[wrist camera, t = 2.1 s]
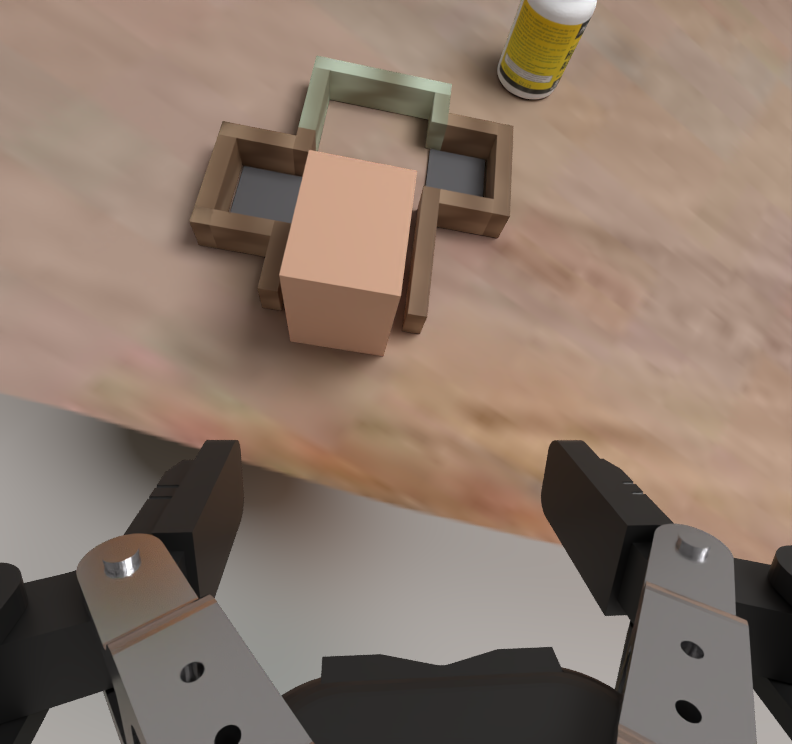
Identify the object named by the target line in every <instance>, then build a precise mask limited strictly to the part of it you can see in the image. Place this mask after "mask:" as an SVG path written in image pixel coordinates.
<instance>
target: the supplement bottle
mask: <svg viewBox="0 0 792 744" xmlns="http://www.w3.org/2000/svg"><path fill="white" fill-rule="evenodd" d="M596 3H597V0H521V2H520V5H519V8H518V10H517V13H516V16H515V19H514V22H513V24H512V27H511V30H510V33H509V35H508V38H507V41H506V44H505V46H504V49H503V52H502V54H501V57H500V61H499V64H498V68H497V73H498V77H499V79H500V81H501V83H502V84H503V86H504V87H505V88H506V89H507V90H508V91H510V92H511V93H513V94H515V95H517V96H519V97H522V98H526V99H541V98H545V97H547V96H548V95H550V94H551V93H552V92H553V91H554V89H555V88H556V86H557V84H558V82H559V81H560V79H561V76H562V74H563V72H564V70H565V68H566V66H567V64H568V62H569V60H570V58H571V56H572V54H573V52H574V50H575V48H576V46H577V44H578V42H579V40H580V38H581V36H582V34H583V32H584V30H585V28H586V26H587V24H588V22H589V20H590V18H591V16H592V14H593V12H594V10H595V7H596Z"/></svg>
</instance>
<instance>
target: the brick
mask: <svg viewBox="0 0 792 744" xmlns="http://www.w3.org/2000/svg"><path fill="white" fill-rule="evenodd" d="M416 176H417V171H415V170H410V169H405V168H400V167H395V166H390V165H385V164H379V163H374V162H369V161H364V160H359V159H354V158H349V157H343V156H338V155H333V154H328V153H323V152H318V151H313V150H309V152H308V157H307V161H306V165H305V169H304V173H303V177H302V182H301V186H300V190H299V194H298V198H297V203H296V207H295V211H294V215H293V219H292V224H291V228H290V232H289V236H288V240H287V244H286V249H285V253H284V257H283V261H282V265H281V270H280V274H279V277H280V283H281V289H282V295H283V301H284V306H285V312H286V318H287V324H288V330H289V336H290V341H292V342H298V343H304V344H310V345H316V346H323V347H329V348H335V349H341V350H347V351H354V352H360V353H366V354H372V355H378V356H384V352H385V349H386V345H387V342H388V339H389V335H390V332H391V328H392V325H393V321H394V318H395V314H396V311H397V308H398V304H399V301H400V297H401V291H402V283H403V275H404V268H405V260H406V252H407V245H408V237H409V229H410V222H411V214H412V206H413V199H414V191H415V184H416Z"/></svg>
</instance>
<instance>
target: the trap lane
mask: <svg viewBox="0 0 792 744" xmlns="http://www.w3.org/2000/svg"><path fill="white" fill-rule="evenodd" d="M451 87H452V84H449V83H444V82H439V81H434V80H430V79H425V78H420V77H416V76H411V75H406V74H401V73H397V72H392V71H387V70H382V69H378V68H373V67H368V66H363V65H359V64H354V63H349V62H345V61H340V60H335V59H330V58H326V57H321V56H316V60H315V64H314V68H313V72H312V75H311V79H310V83H309V87H308V91H307V95H306V99H305V103H304V107H303V111H302V115H301V119H300V123H299V126H298V130H297V134H296V135H291V134H286V133H281V132H276V131H271V130H265V129H260V128H255V127H250V126H245V125H240V124H235V123H230V122H225V121H223V122H222V125H221V128H220V131H219V134H218V137H217V140H216V143H215V146H214V149H213V152H212V155H211V158H210V161H209V164H208V167H207V170H206V173H205V176H204V179H203V182H202V185H201V188H200V191H199V194H198V197H197V200H196V203H195V206H194V209H193V212H192V215H191V218H190V221H189V222H190V224H191V226H192V229H193V231H194V234H195V236H196V238H197V241H198V243H199V245H202V246H207V247H213V248H219V249H225V250H230V251H236V252H242V253H247V254H253V255H259V256H265V260H264V264H263V268H262V272H261V275H260V279H259V283H258V287H257V289H258V293H259V297H260V300H261V304H262V308H268V309H274V310H280V311H281V309H282V304H283V295H282V289H281V283H280V277H279V274H280V270H281V265H282V261H283V257H284V253H285V249H286V244H287V240H288V236H289V232H290V228H291V224H292V223H287V222H281V221H276V220H270V219H265V218H259V217H254V216H248V215H243V214H237V213H232V212H229V208H230V205H231V202H232V198H233V195H234V192H235V188H236V185H237V181H238V178H239V175H240V171H241V168H242V165H244V166H249V167H254V168H259V169H265V170H270V171H275V172H281V173H286V174H291V175H296V176H302V177H303V173H304V169H305V165H306V161H307V157H308V152H309V150H313V151H318V148H319V143H320V139H321V135H322V130H323V126H324V122H325V117H326V113H327V109H328V104H329V100H335V101H340V102H345V103H350V104H355V105H360V106H365V107H370V108H374V109H379V110H384V111H389V112H394V113H399V114H404V115H409V116H414V117H419V118H423V119H428V120H429V121H428V129H427V137H426V145H425V148H428V149H434V150H439V151H444V152H449V153H454V154H459V155H464V156H469V157H474V158H479V159H484V160H487V168H486V184H485V197H479V196H474V195H469V194H464V193H459V192H453V191H448V190H443V189H438V188H433V187H428V186H423V190H422V194H421V198H420V201H419V205H418V209H417V216H416V224H415V232H414V240H413V248H412V256H411V264H410V272H409V280H408V288H407V296H406V304H405V312H404V320H403V328H402V331H406V332H412V333H418V334H420V332H421V330H422V328H423V325H424V323H425V321H426V318H427V313H428V303H429V294H430V285H431V275H432V266H433V256H434V247H435V237H436V228H437V227H441V228H446V229H452V230H457V231H462V232H468V233H473V234H479V235H484V236H489V237H495V238H498V237H499V235H500V233H501V232H502V230H503V228H504V226H505V224H506V222H507V221H508V219H509V217H510V199H511V174H512V149H513V126H510V125H506V124H501V123H496V122H491V121H486V120H481V119H476V118H472V117H467V116H462V115H457V114H452V113H449V105H450V96H451Z"/></svg>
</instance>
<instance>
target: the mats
mask: <svg viewBox="0 0 792 744" xmlns="http://www.w3.org/2000/svg"><path fill="white" fill-rule="evenodd" d="M484 170H485V160H484V159H479V158H474V157H469V156H464V155H459V154H454V153H449V152H444V151H439V150H434V149H430V154H429V162H428V170H427V179H426V186H428V187H433V188H438V189H443V190H448V191H453V192H459V193H464V194H469V195H474V196H479V197H483V185H484ZM301 182H302V177H300V176H295V175H290V174H284V173H279V172H274V171H268V170H263V169H258V168H253V167H247V166H244V168H243V171H242V175H241V178H240V181H239V185H238V188H237V191H236V195H235V198H234V201H233V205H232V208H231V212H232V213H237V214H243V215H248V216H254V217H259V218H265V219H270V220H276V221H281V222H287V223H292V219H293V215H294V211H295V207H296V203H297V198H298V194H299V190H300V186H301Z"/></svg>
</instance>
